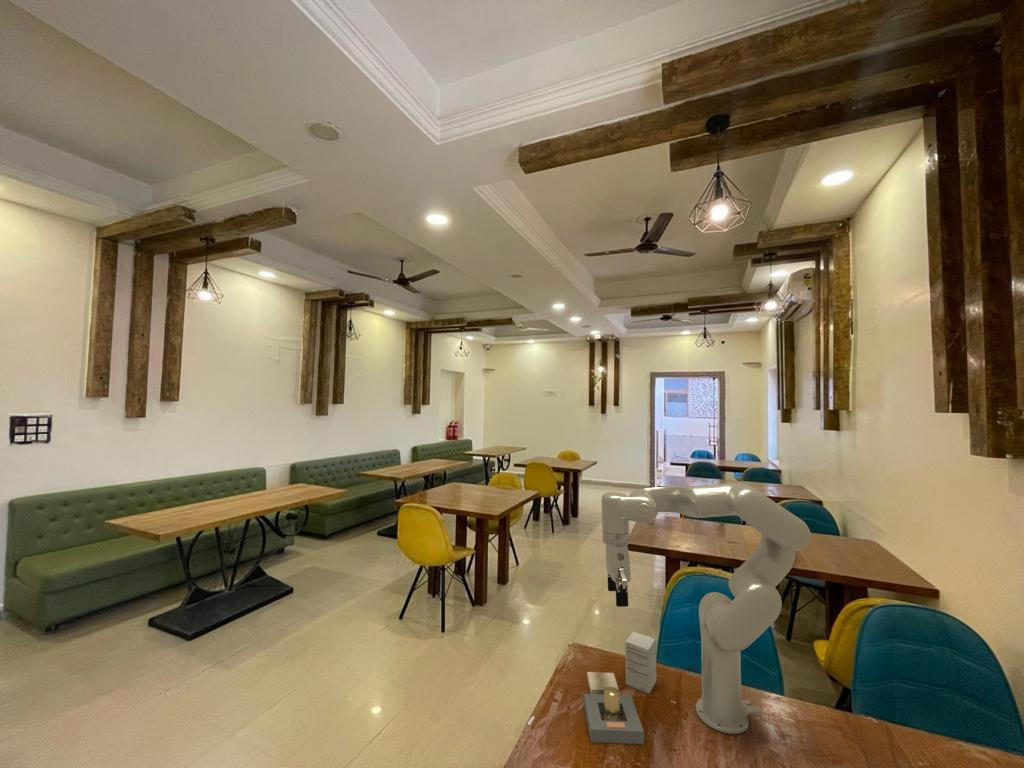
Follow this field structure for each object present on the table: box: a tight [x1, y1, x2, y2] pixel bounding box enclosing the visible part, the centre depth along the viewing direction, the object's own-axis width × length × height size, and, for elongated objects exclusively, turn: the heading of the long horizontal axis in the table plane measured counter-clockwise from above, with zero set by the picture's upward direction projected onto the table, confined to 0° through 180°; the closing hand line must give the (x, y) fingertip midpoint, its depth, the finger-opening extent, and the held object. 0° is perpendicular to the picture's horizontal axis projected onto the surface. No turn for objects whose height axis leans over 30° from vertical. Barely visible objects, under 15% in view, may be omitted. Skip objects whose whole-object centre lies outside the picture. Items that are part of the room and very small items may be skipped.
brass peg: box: [603, 687, 621, 721], centre depth 110 cm, size 4×4×8 cm
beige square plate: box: [586, 671, 620, 695], centre depth 124 cm, size 8×8×2 cm
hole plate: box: [583, 693, 645, 745], centre depth 110 cm, size 13×13×3 cm
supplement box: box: [624, 631, 657, 694], centre depth 127 cm, size 7×7×13 cm
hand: (617, 598), depth 120 cm, fingers open, 9 cm apart
